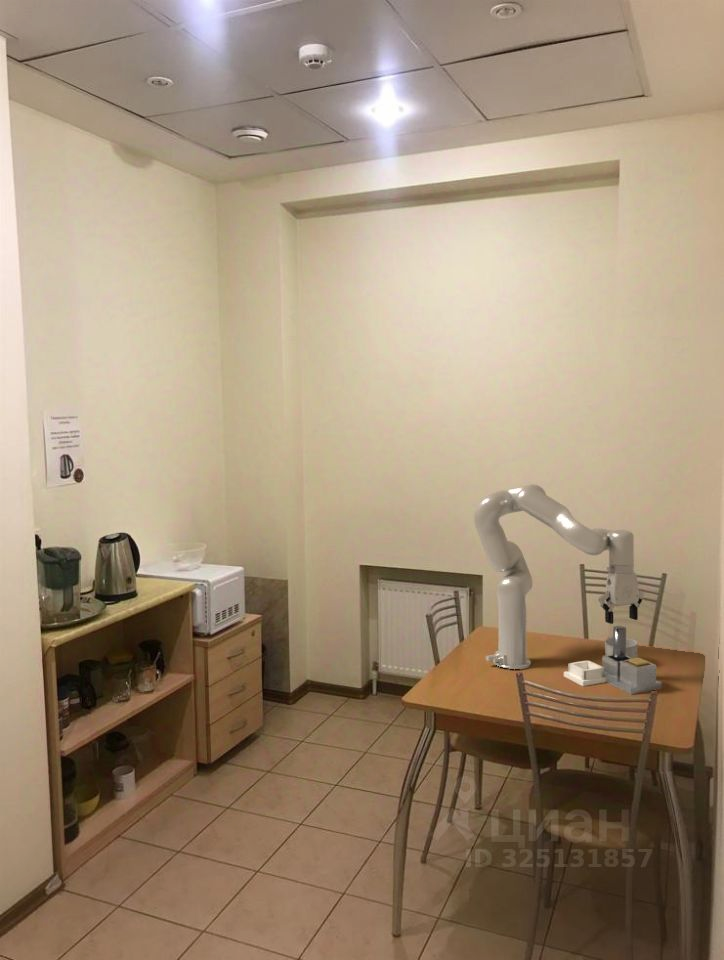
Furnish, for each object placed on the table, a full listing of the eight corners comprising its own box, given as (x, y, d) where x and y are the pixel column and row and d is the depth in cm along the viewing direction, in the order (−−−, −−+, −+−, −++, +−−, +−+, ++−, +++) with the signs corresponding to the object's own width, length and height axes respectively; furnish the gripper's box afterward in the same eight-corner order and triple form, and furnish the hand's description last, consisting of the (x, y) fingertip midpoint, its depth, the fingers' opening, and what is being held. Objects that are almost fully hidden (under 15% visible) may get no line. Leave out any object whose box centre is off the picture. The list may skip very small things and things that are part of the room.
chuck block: (630, 694, 239) (631, 669, 238) (594, 676, 255) (594, 652, 254) (661, 688, 243) (662, 664, 242) (623, 671, 259) (624, 648, 259)
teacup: (642, 668, 262) (642, 645, 261) (610, 669, 262) (610, 646, 261) (627, 655, 276) (628, 633, 275) (597, 656, 276) (597, 634, 275)
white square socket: (582, 686, 246) (583, 672, 246) (563, 676, 256) (563, 662, 255) (608, 681, 250) (608, 668, 250) (588, 672, 259) (588, 658, 259)
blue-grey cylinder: (618, 675, 250) (618, 630, 249) (609, 671, 254) (610, 626, 252) (628, 673, 252) (628, 628, 250) (619, 669, 255) (620, 625, 254)
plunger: (637, 682, 242) (637, 663, 241) (627, 677, 246) (627, 659, 245) (648, 680, 243) (648, 661, 243) (638, 675, 247) (638, 657, 247)
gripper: (607, 573, 243) (607, 627, 244) (650, 568, 249) (650, 620, 250) (591, 569, 250) (592, 621, 251) (634, 564, 256) (634, 615, 257)
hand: (621, 620), depth 251 cm, fingers open, 9 cm apart
